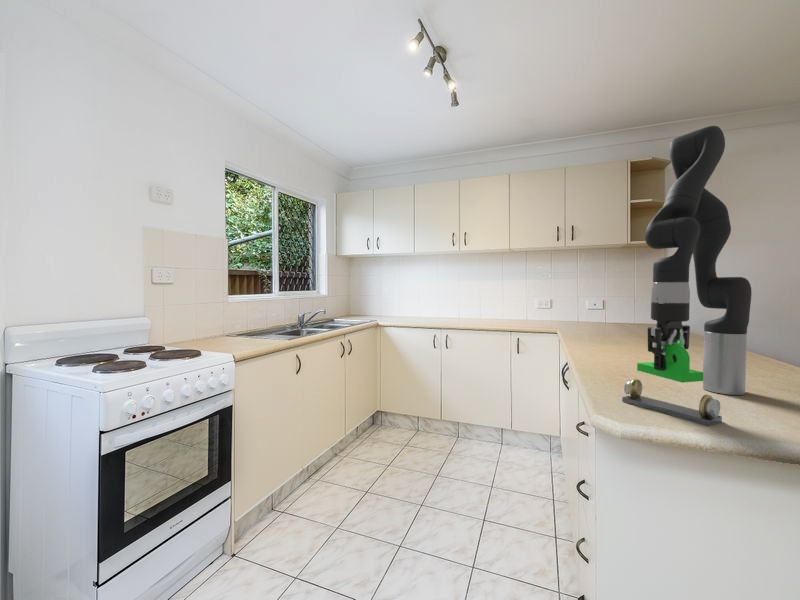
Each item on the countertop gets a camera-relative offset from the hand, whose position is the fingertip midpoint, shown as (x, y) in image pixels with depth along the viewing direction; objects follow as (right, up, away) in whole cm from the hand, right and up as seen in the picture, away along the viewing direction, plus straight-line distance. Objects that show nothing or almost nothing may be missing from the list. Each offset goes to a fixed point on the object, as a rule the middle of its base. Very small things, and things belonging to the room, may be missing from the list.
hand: (668, 368), depth 88 cm
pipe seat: (0, -10, 0) cm, 11 cm away
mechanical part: (0, -2, 0) cm, 2 cm away
